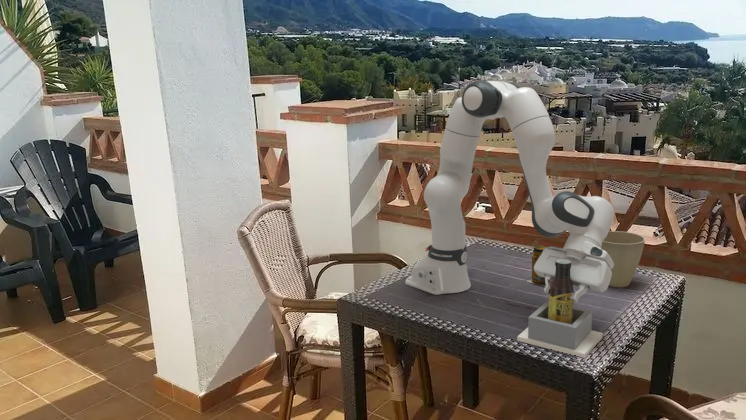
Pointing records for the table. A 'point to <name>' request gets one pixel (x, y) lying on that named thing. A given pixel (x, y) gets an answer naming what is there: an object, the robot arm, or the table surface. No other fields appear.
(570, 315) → the sauce bottle
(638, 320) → the table surface
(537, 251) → the condiment
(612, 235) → the plant pot
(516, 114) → the robot arm
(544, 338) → the box
